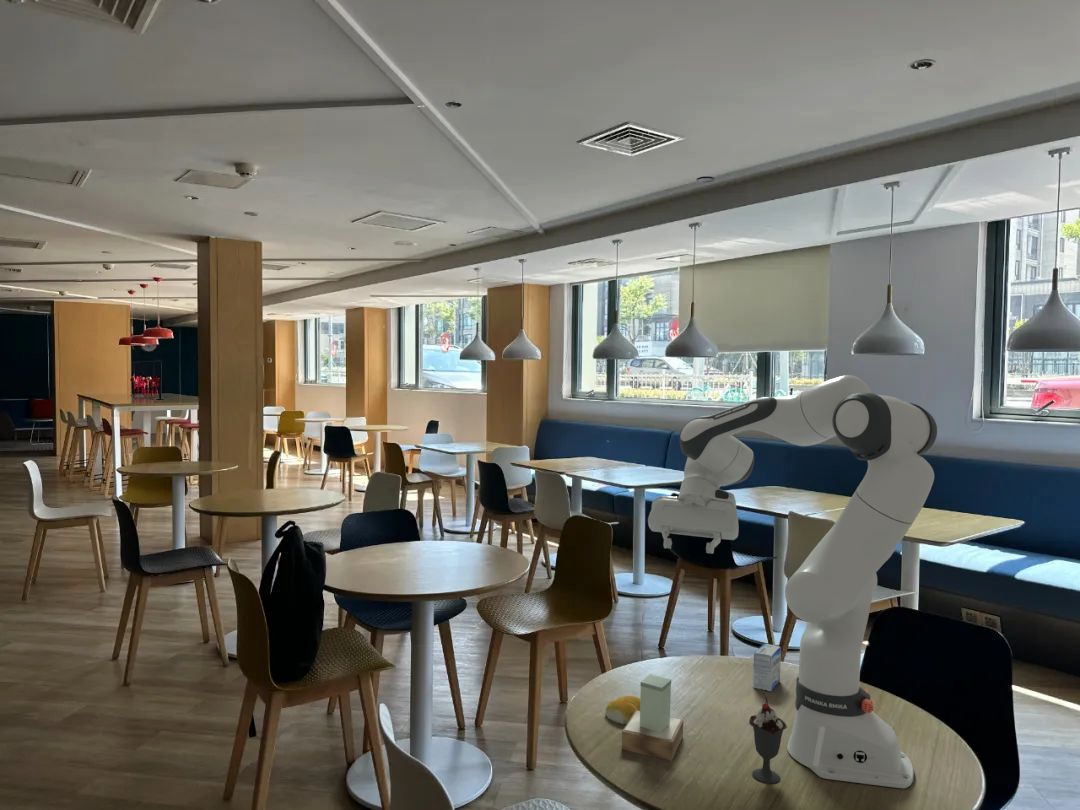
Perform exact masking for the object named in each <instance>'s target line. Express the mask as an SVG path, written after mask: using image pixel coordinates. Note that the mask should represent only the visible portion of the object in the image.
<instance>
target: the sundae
mask: <svg viewBox="0 0 1080 810" xmlns="http://www.w3.org/2000/svg"><path fill="white" fill-rule="evenodd" d="M762 694H763V696H764V697H765V703H764V704H762V705H761V709H760V710H759V711H758V712H757V714H755V715H751V716H750V717H749V720H748V721H749V722H748V723H749V725H750V726H751V727H752V729H753V736H754V747H755V750H756V753H757V754H758V755H759V756H760V757H761V758H762V759H763V763H762V768H761V767H760V768H756V769H754V770H753V771H752V772H751V775H752V777H753V778H754V779H755V780H756V781H757V782H760V783H764V784H767V785H770V784H771V785H772V784H777V783H778V782H780V780H781V777H780V775H779V774H778V773H777V772H776V771H774V770H771V760H772V759H773V758H775V757H776V756H777V755H778V754H779V751H780V747H781V742H782V738H783V737H782V736H783V733H784V730H786V729H787V728H788V726H787V724H786V722H785V721H784V720H783V719H782V718H779V717H778V716H777V713H776V711H774V709H772V708H771V707H770V705H769V703H768V698H767V696H766V692H764V691H763V693H762Z"/></svg>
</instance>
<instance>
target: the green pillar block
mask: <svg viewBox="0 0 1080 810" xmlns="http://www.w3.org/2000/svg"><path fill="white" fill-rule="evenodd" d="M671 690H672V679H671V678H666V677H664V676H658V675H655V674H652V673H650V674H648V676H646V677H645V678H644V679H642V680H641V681H640V697H639V699H640V727H643V728H646V729H649V730H653V731H656V732H659V733H661V732H662V731H663V730H664V729H665V728H666V727H667V726H668V725H669V724H670V717H671V695H672V691H671Z"/></svg>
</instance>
